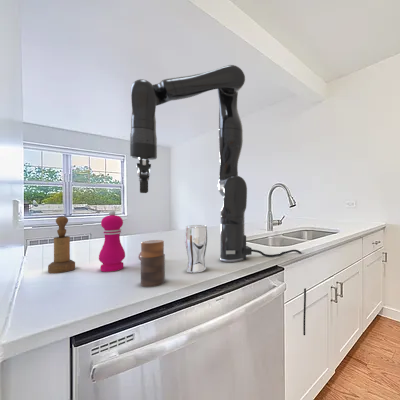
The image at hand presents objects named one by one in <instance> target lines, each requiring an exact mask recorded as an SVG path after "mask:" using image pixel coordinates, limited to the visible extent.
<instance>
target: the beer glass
mask: <svg viewBox="0 0 400 400" xmlns="http://www.w3.org/2000/svg"><path fill="white" fill-rule="evenodd" d="M184 233H185V236H184V244H185V249H186V255H187V264H186V273H191V274H196V273H202V272H205V271H206V270H207V267H206V266H207V265H206V252H207V245H208V225H206V224H192V225H186V226H185V232H184Z"/></svg>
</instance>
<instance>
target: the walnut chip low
mask: <svg viewBox="0 0 400 400" xmlns="http://www.w3.org/2000/svg"><path fill="white" fill-rule="evenodd" d="M164 283H166V268H165V269H163V270H160V271H156V272H141V271H140V286H141V287H144V288H145V287H146V288H151V287H157V286H161V285H163V284H164Z"/></svg>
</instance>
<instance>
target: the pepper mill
mask: <svg viewBox="0 0 400 400" xmlns="http://www.w3.org/2000/svg"><path fill="white" fill-rule="evenodd" d="M123 224H124V220H123V218H122V217H121V216H120V215H116V211H115V210H110V211H109V212H108V215H106V216H104V217H103V218H102V219H101V221H100V226H101V227H102V228H103V230H102V235H104V242H103V245H102V247H101V249H100V252H99V254H98V260H99V262H100V263H101V265H100V272H104V273H108V272H115V271H120V270H123V269H124V262H123V260H124V259H125V258H126V252H125V248H124V247H123V245H122V243H121V237H120V235H121V234H122V229H121V228H122V226H123Z"/></svg>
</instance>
